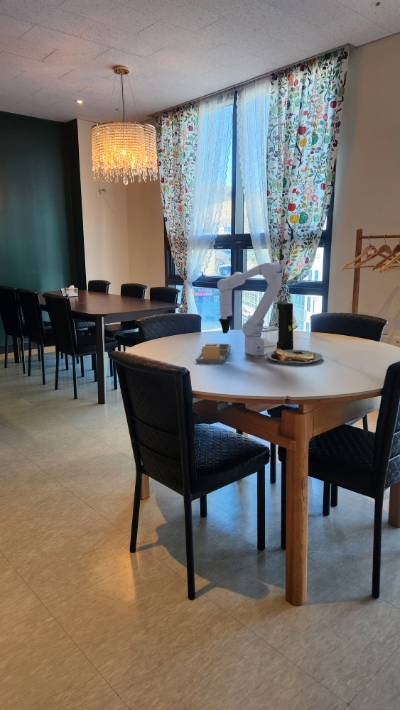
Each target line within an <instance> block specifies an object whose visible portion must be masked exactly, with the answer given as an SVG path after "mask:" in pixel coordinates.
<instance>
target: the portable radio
mask: <svg viewBox="0 0 400 710" xmlns="http://www.w3.org/2000/svg"><path fill="white" fill-rule="evenodd" d="M276 309H278V322H277V323H278V324H277V325H278V326H277V328H278V329H277V331H278V334H277V335H278V337H277V342H276V349H278V348H279V349H281V351H282V350H294V348H295V347H294V326H293V324H294V317H293V316H294V311H293V310H294V303H292V302H283V300H282V297H280V302H278V303H277V305H276Z"/></svg>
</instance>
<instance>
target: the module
mask: <svg viewBox="0 0 400 710" xmlns="http://www.w3.org/2000/svg"><path fill="white" fill-rule="evenodd" d="M220 344H221V343H204V344H203V345H202V349H203V359H219V358H220Z"/></svg>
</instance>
